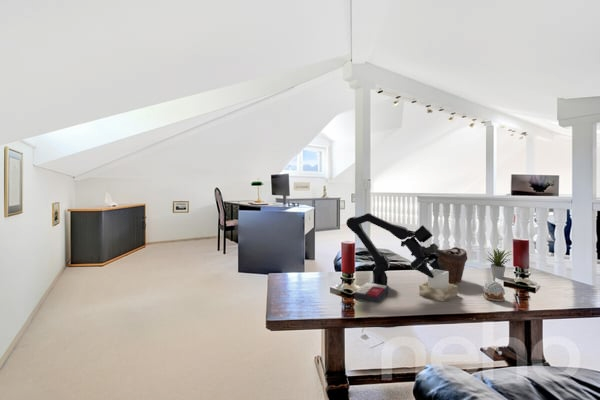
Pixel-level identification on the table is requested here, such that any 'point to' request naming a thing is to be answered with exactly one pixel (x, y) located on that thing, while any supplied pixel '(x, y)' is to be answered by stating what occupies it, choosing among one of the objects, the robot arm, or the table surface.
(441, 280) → the white upright block
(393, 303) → the table surface
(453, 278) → the brown flower pot
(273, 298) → the table surface
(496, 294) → the decorative ornament
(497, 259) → the house plant
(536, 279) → the table surface
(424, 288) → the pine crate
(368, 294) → the red and white box
